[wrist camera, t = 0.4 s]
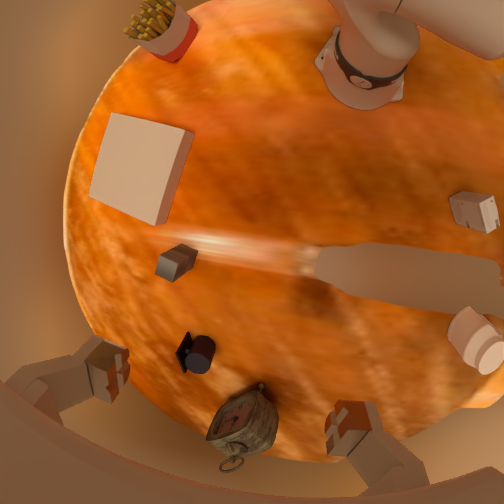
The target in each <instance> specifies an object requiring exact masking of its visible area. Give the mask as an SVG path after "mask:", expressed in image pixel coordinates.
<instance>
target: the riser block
mask: <svg viewBox="0 0 504 504" xmlns="http://www.w3.org/2000/svg"><path fill="white" fill-rule="evenodd" d="M194 136H195V134H194V133H192V132H189V131H187V130H184V129H180V128H176V127H173V126H169V125H165V124H161V123H157V122H153V121H149V120H144V119H140V118H136V117H131V116H126V115H122V114H117V113H111V116H110V119H109V122H108V125H107V128H106V131H105V134H104V137H103V141H102V144H101V147H100V151H99V154H98V158H97V162H96V166H95V170H94V174H93V178H92V182H91V187H90V191H89V197H91V198H93V199H96V200H98V201H100V202H102V203H104V204H106V205H109V206H111V207H113V208H115V209H118V210H120V211H122V212H124V213H126V214H129V215H131V216H133V217H135V218H137V219H140V220H142V221H144V222H146V223H149V224H151V225H153V226H157V225H160V224H163V223H166V221H167V218H168V214H169V211H170V208H171V204H172V201H173V198H174V194H175V191H176V188H177V185H178V182H179V179H180V176H181V173H182V170H183V167H184V164H185V161H186V158H187V155H188V152H189V149H190V147H191V144H192V141H193V138H194Z"/></svg>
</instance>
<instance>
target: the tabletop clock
mask: <svg viewBox="0 0 504 504" xmlns="http://www.w3.org/2000/svg"><path fill="white" fill-rule="evenodd" d="M258 386H259V388H260V390H259V391H258V390H252V391H249V392H247V393H245V394H242V395H240V396H238V397H236V398H234V399H233V398H230V399H229V400H228V402H227V403H225V404H224V405H222V406H221V407H220V408H219V410H218V411H217V413H216V415H215V417H214V419H213V421H212V423H211V425H210V427H209V430H208V433H207V437H206V440H207V441H208V442H209V443H210V444H212V445H213V446H214V447H216V448H217V449H218V450H220V451H221V452H222V453H224V454H225V455H227V456H228V457H230V458H229V459H227V460H225V461H224V462H223V463H222V464H221V465H220V467H219V470H220V471H221V472H222V473H229V472H233V471H236V470H237V469H239V468H240V467H241V466H242V465H243V463H244V458H243V457H247V456H251V455H254V454H257V453H260V452H263V451H266V450H267V449H269V448H271V447H272V445H273V443H274V441H275V438H276V433H277V429H278V421H279V416H278V412H277V408H276V407H275V406H274V405H273V404H272V403H271V402H270V401H269V400H267V399H266V398H265V397H264V396H263V395H262V394H261V393H262V389H264V388H265V385H264V384H263V383H260V384H259V385H258ZM236 459H242V462H241V464H239V465H238V466H237V467H235V468H233V469H230V470H222V469H221V467H222V465H223V464H225V463H227V462H229V461H230V462H231V463H234V462H235V460H236Z"/></svg>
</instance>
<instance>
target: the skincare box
mask: <svg viewBox="0 0 504 504" xmlns="http://www.w3.org/2000/svg"><path fill="white" fill-rule="evenodd" d="M449 202H450V206H451V210H452V213H453V216H454V219H455V222H456V224H459V225H462V226H465V227H468V228H471V229H474V230H477V231H480V232H483V233H486V234H488V233H489V232H491V231H492V230H494V229H495V228H497V227H498V226H500V223H499V218H498V211H497V207H496V204H495V200H494V196H493V195H488V194H481V193H473V192H464V191H461V192H459V193H457V194H455V195H453V196H451V197H449Z"/></svg>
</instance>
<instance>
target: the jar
mask: <svg viewBox="0 0 504 504" xmlns="http://www.w3.org/2000/svg"><path fill="white" fill-rule="evenodd" d="M447 338H448V340H449V341H450V342H451V343H452V345H453V346H454V347H455V349H456V350H457V351H458V353H459V354H460V356H461V357H462V359H463V360H464V361H465V362H466V363H467V364H468V365H471V366H473V367H475V368H477V369H478V371H479V372H480V373H481V374H484V375H485V374H489V373H491V372H493V371H494V370H495V369H497V368H498V367H499V365H500V364H501V363H502V361H503V360H504V341H503V340H502V333H501V332H500V331H499V330H498V329H497V328H496V327H494V326H493V325H492V324H491V323H490V322H489V321H488V320H487V319H486V318H485V317H484V316H483V315H482V314H478V313H477V312H476V311H474V309H473V308H471V307H470V306H467V307H465V308H463V309H462V310H460V311H459V312H458V313H457V314H456V315H455V316H454V318H453V319H452V321H451V323H450V325H449V328H448V332H447Z"/></svg>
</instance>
